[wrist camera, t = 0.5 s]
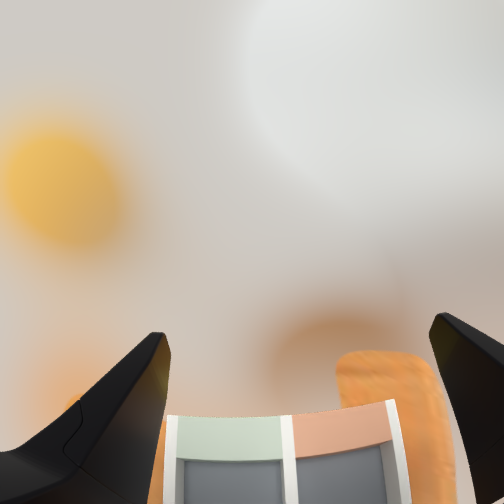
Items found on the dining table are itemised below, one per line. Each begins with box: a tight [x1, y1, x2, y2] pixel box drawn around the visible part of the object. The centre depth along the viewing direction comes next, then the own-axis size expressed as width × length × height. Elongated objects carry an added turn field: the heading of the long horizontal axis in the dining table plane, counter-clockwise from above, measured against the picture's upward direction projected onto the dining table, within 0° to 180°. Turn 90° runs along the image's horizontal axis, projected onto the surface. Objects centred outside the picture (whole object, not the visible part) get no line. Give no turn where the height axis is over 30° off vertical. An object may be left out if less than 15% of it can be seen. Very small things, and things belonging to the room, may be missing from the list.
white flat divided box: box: [163, 399, 412, 504], centre depth 14 cm, size 11×16×4 cm
